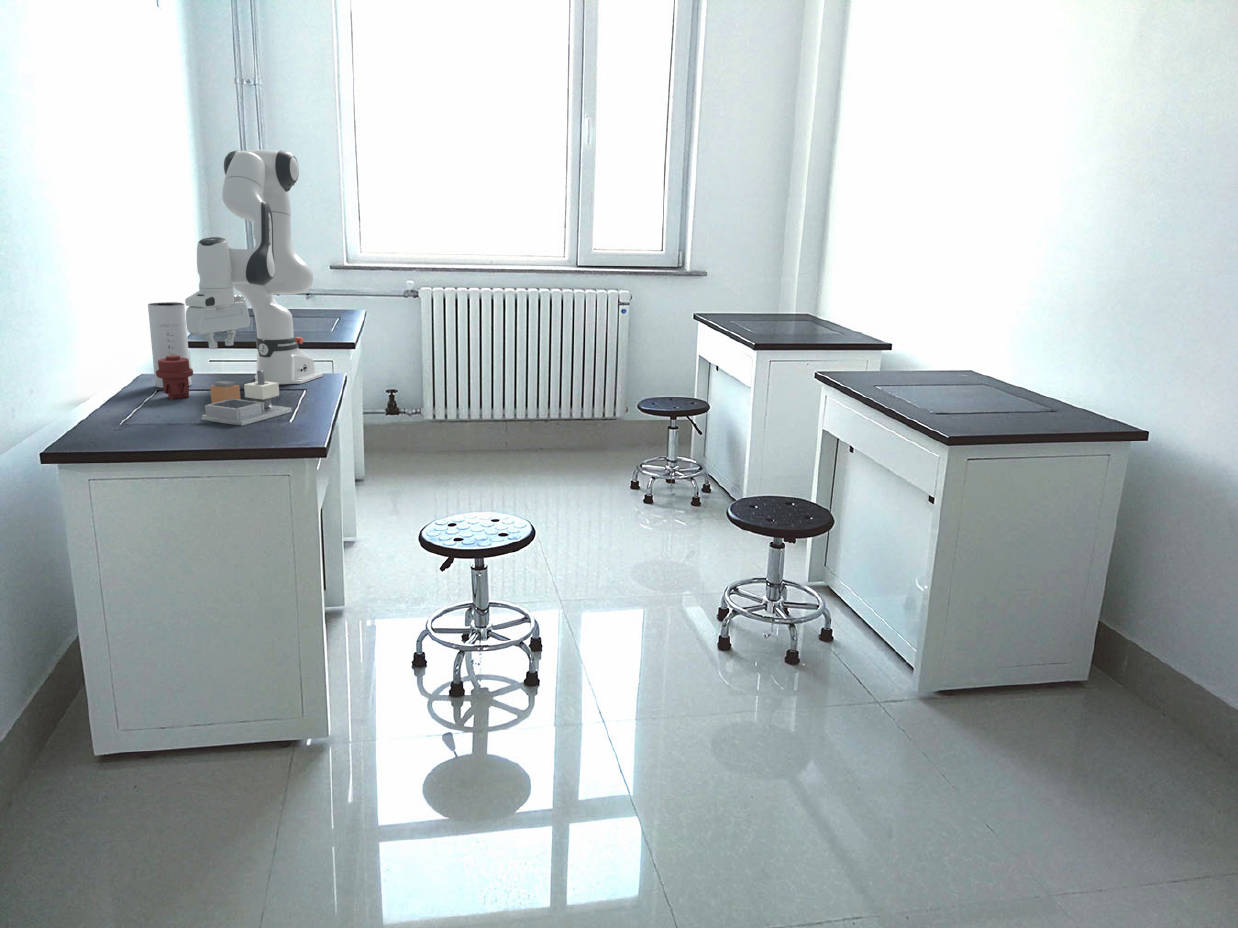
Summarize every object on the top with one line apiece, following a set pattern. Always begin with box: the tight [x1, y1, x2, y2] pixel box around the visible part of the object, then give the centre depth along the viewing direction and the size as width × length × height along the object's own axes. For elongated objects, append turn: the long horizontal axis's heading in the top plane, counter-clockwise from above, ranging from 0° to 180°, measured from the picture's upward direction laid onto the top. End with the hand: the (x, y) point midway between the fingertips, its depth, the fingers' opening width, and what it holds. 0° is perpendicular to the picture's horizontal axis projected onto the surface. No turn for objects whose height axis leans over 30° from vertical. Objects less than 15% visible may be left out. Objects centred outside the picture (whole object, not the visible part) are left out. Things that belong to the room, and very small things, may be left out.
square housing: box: [243, 381, 280, 399], centre depth 271 cm, size 6×6×4 cm
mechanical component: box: [156, 355, 194, 400], centre depth 286 cm, size 12×10×10 cm
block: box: [209, 380, 242, 404], centre depth 277 cm, size 5×6×7 cm
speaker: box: [147, 301, 192, 389], centre depth 300 cm, size 11×10×26 cm
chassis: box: [201, 370, 293, 427], centre depth 266 cm, size 19×14×12 cm
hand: (221, 346), depth 274 cm, fingers open, 5 cm apart
